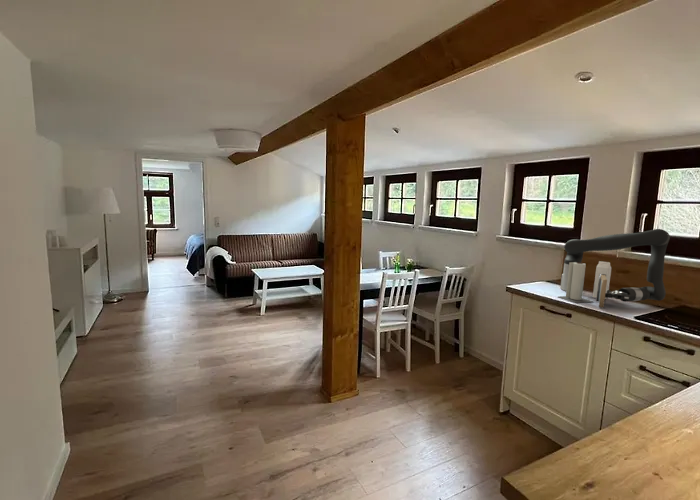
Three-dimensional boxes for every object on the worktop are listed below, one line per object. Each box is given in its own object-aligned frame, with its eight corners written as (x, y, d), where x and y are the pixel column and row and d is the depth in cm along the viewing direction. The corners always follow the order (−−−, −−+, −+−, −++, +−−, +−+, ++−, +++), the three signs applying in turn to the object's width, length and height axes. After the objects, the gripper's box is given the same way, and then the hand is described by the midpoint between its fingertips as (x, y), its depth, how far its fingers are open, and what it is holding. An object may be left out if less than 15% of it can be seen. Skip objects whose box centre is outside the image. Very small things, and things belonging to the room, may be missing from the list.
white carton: (584, 300, 217) (588, 263, 214) (576, 300, 215) (580, 264, 212) (573, 296, 224) (577, 261, 221) (565, 297, 222) (569, 261, 219)
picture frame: (597, 300, 215) (600, 274, 214) (602, 300, 214) (605, 275, 212) (598, 307, 201) (602, 279, 199) (603, 307, 199) (607, 280, 197)
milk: (603, 299, 222) (608, 263, 218) (592, 297, 226) (596, 261, 223) (607, 298, 225) (612, 262, 222) (596, 296, 230) (600, 260, 227)
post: (594, 300, 218) (598, 273, 216) (599, 300, 219) (602, 273, 217) (599, 302, 215) (603, 274, 213) (604, 302, 216) (607, 274, 214)
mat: (557, 297, 224) (557, 296, 224) (575, 296, 227) (575, 295, 227) (575, 303, 211) (575, 302, 211) (593, 302, 214) (594, 301, 214)
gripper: (619, 285, 212) (594, 285, 208) (642, 290, 199) (616, 291, 195) (618, 297, 213) (593, 299, 209) (641, 304, 200) (615, 305, 196)
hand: (604, 295), depth 202 cm, fingers closed
